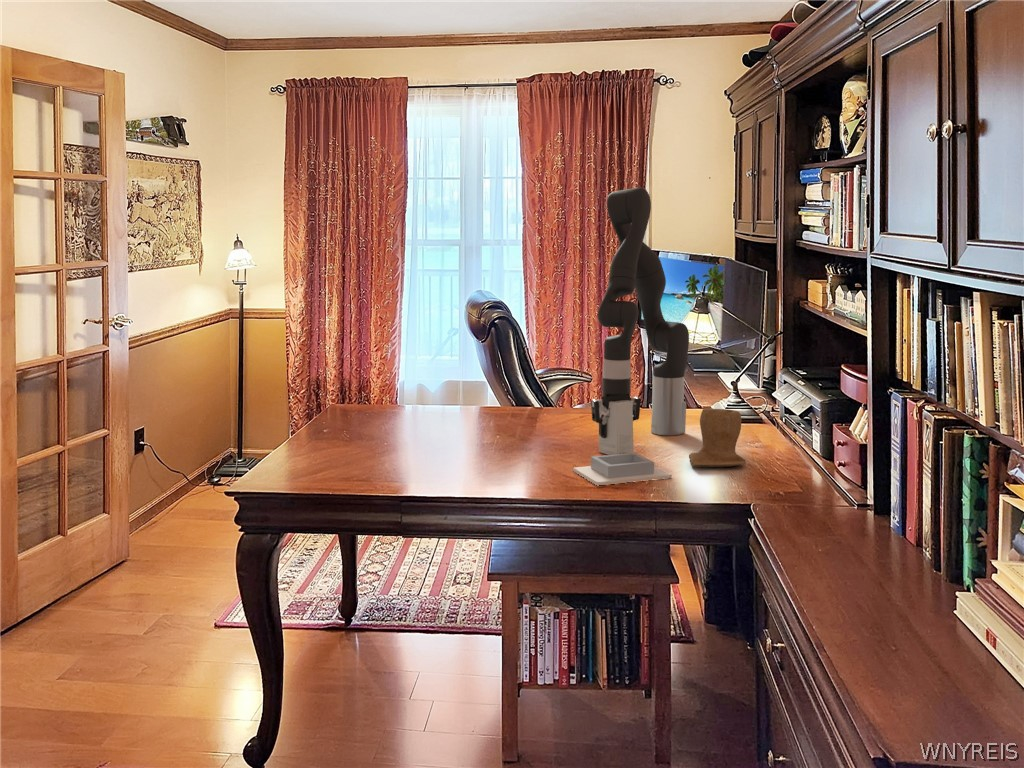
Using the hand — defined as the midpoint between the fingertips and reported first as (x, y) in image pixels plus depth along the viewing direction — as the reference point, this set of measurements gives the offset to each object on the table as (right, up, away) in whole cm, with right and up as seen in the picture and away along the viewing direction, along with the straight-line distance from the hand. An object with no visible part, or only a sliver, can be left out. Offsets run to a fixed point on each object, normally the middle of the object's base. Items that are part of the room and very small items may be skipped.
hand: (615, 436), depth 241 cm
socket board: (-1, -8, -20) cm, 22 cm away
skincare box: (0, -5, +1) cm, 5 cm away
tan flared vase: (+24, -7, -10) cm, 27 cm away
